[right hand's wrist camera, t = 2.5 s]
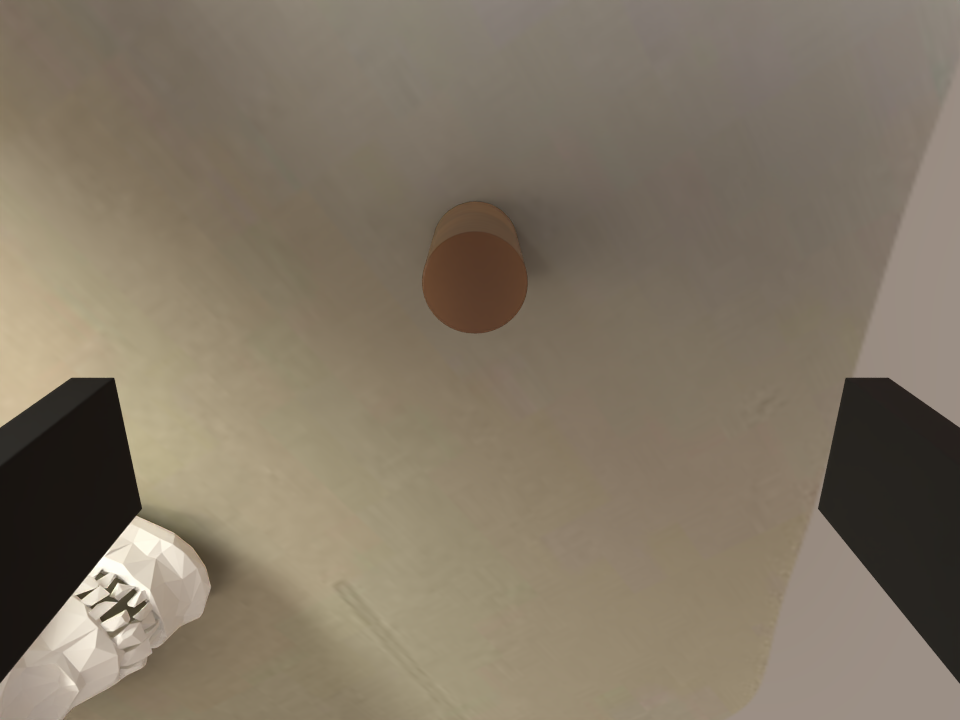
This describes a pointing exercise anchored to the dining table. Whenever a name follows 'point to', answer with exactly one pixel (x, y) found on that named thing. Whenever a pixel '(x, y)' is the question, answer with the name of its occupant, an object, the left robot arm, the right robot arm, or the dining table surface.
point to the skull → (108, 624)
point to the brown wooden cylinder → (475, 269)
